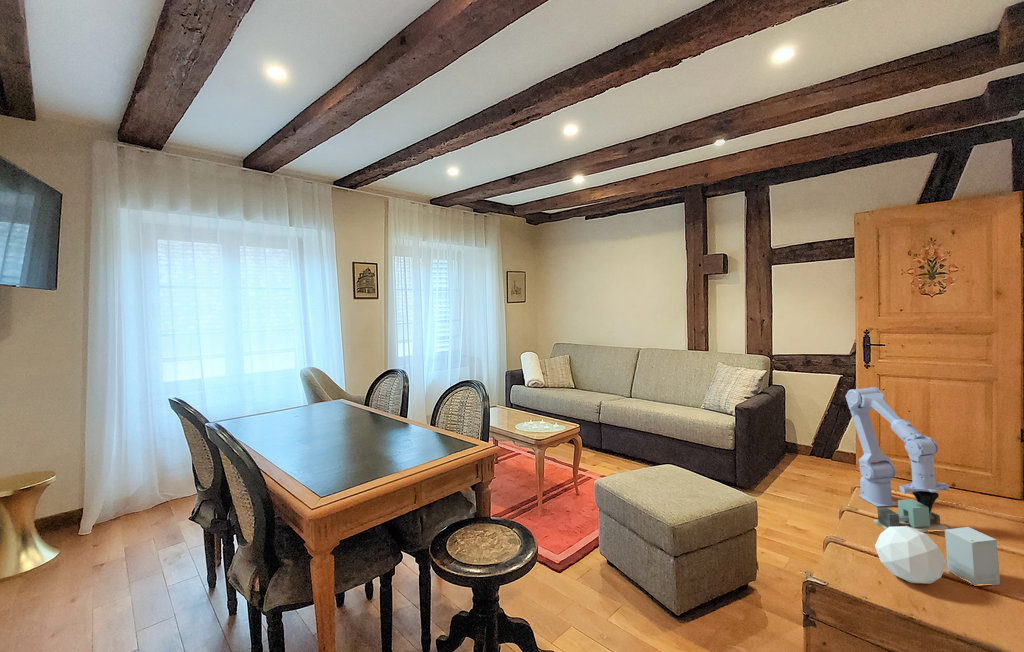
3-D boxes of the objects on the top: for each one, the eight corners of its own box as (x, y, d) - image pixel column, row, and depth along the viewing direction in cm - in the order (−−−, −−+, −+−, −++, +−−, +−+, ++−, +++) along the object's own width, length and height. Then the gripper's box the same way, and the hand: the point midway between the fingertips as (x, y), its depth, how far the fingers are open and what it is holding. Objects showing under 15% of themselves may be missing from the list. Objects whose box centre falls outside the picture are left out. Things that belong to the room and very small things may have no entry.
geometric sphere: (922, 591, 121) (957, 552, 119) (922, 601, 111) (961, 558, 108) (866, 550, 131) (897, 513, 129) (861, 555, 121) (895, 515, 118)
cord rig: (873, 522, 149) (872, 506, 149) (927, 519, 148) (925, 502, 147) (892, 534, 141) (891, 517, 141) (949, 531, 140) (948, 513, 139)
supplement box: (1001, 585, 114) (998, 539, 114) (974, 588, 114) (971, 542, 114) (971, 568, 121) (968, 526, 121) (946, 571, 121) (943, 528, 121)
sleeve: (899, 518, 147) (897, 500, 147) (913, 517, 147) (912, 499, 147) (914, 527, 141) (912, 508, 141) (929, 526, 141) (928, 507, 141)
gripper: (911, 479, 140) (914, 519, 140) (957, 475, 139) (959, 515, 139) (893, 471, 147) (896, 508, 147) (936, 467, 146) (939, 505, 146)
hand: (925, 511), depth 144 cm, fingers closed
